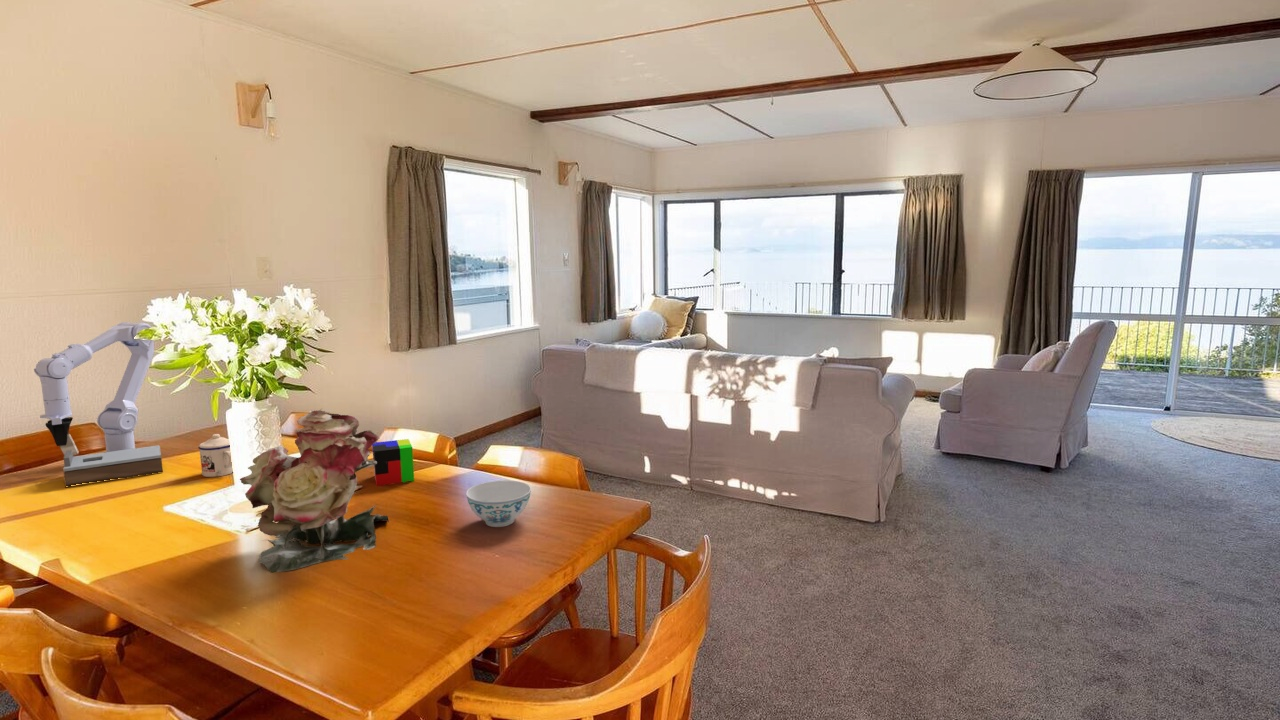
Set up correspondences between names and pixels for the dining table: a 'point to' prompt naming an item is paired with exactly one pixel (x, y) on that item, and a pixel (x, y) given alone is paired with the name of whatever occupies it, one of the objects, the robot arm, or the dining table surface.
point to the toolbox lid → (110, 457)
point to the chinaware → (498, 501)
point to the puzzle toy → (393, 462)
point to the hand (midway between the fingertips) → (62, 444)
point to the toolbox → (113, 471)
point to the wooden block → (69, 446)
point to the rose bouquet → (313, 493)
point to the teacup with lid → (215, 457)
